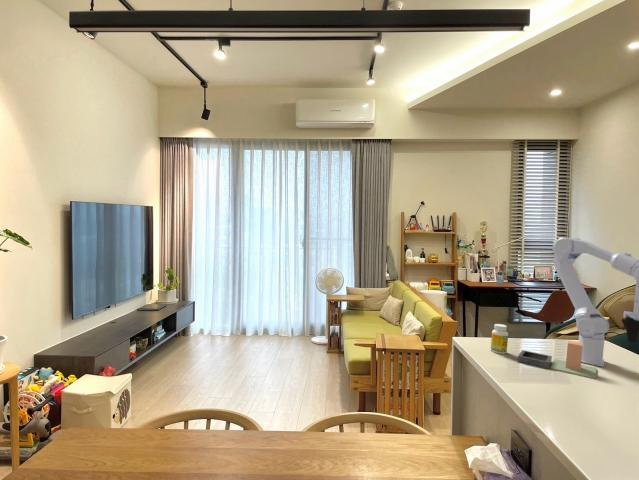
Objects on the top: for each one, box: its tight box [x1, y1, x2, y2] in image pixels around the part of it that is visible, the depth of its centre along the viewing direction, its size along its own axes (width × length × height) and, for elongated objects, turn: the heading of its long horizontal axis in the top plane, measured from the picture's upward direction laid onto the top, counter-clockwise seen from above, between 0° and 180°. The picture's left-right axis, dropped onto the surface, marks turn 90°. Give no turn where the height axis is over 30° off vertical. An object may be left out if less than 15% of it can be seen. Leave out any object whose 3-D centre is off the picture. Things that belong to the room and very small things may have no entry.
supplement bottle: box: [490, 323, 509, 355], centre depth 143 cm, size 5×5×10 cm
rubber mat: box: [550, 358, 597, 380], centre depth 129 cm, size 12×12×1 cm
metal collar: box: [517, 349, 553, 370], centre depth 134 cm, size 9×9×2 cm
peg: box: [565, 340, 583, 371], centre depth 129 cm, size 4×4×8 cm
